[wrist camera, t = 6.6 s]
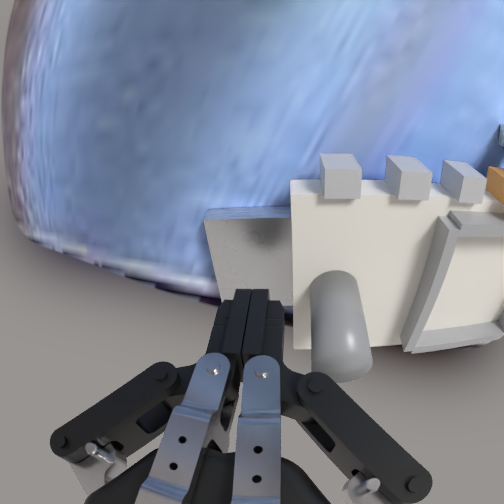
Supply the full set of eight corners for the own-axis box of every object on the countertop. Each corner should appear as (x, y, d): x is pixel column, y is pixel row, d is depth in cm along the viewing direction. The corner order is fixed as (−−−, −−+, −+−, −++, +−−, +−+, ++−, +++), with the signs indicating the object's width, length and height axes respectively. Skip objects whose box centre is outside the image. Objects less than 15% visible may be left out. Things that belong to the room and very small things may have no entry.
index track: (225, 291, 19) (205, 371, 14) (191, 107, 12) (127, 140, 7) (522, 279, 15) (554, 335, 10) (564, 144, 9) (621, 186, 4)
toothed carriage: (293, 329, 18) (290, 415, 13) (288, 154, 12) (288, 227, 7) (493, 314, 16) (521, 377, 11) (546, 178, 9) (609, 235, 4)
